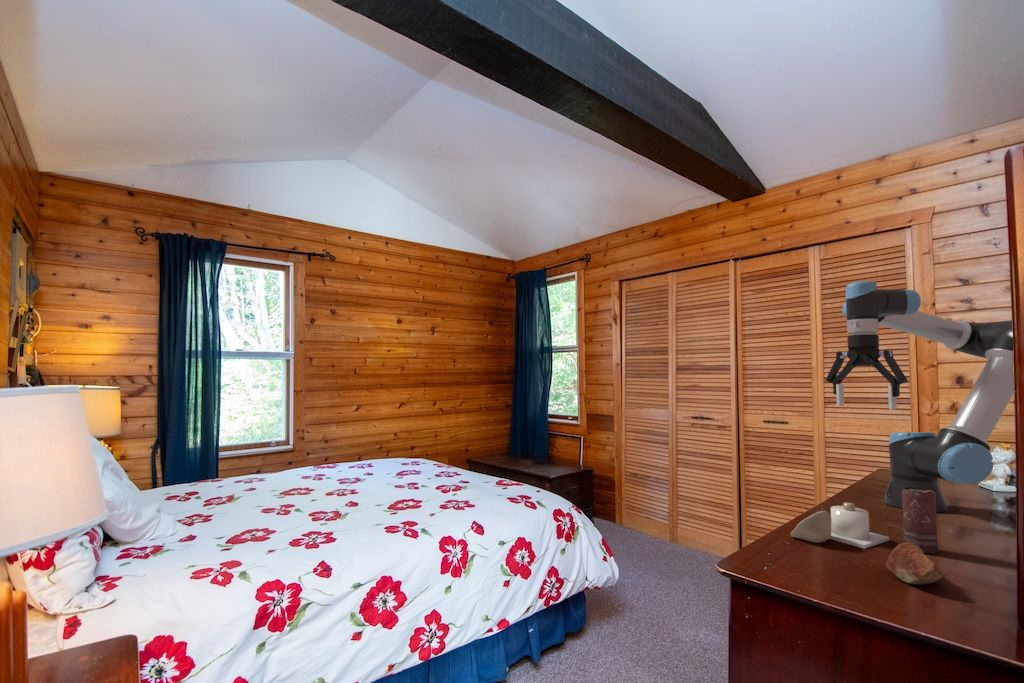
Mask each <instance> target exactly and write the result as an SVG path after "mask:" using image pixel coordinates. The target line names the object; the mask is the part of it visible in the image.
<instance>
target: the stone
mask: <svg viewBox="0 0 1024 683" xmlns="http://www.w3.org/2000/svg"><path fill="white" fill-rule="evenodd" d="M830 536H831V513H830V512H828V511H827V510H821V511H820V510H819V511H817V512H815V513H814V514H811V515H809V516H808V517H806V518H804V519H802V520H801V521H800V522H798V523H797V525H796V526H795V528H794V529H793V530H792V531H791V532H790V537H791V538H795V539H800V540H803V541H806V542H810V543H814V544H819V543H825V542H826V541H828V540H830V539H829V538H830Z"/></svg>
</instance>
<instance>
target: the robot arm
mask: <svg viewBox="0 0 1024 683" xmlns="http://www.w3.org/2000/svg"><path fill="white" fill-rule="evenodd" d="M845 288H846V289H845V302H844V303H843V305H842V310H841V311H842V314H843V316H844V317H845V318H846V328H847V329H846V330H847V332H846V333H847V335H848V336H847V337H846V338H847V339H846V340H847V348H848V350H847V351H837V352H836V353H835V355H836V356H835V360H834V362H833V364H832V366H831V368H830V370H829V372H828V374H827V377H826V379H825V381H826V382H827V383H831V384H832V386H833V387H832V389H833V395H836V406H837V407H844V406H845V388H844V387H845V386H844V384H843V383H842V382H843V381H844V380H845V379H846V377H848V375H849V374H850V373H851V371H853V370H854V368H856V367H873V368H875V369H876V371H878V372H879V374H880V375H882V377H883V378H885V379H886V380H887V382H888V383H889V384H890V385H887V392H888V393H887V397H888V410H890V409H891V410H895V409H897V407H898V406H897V398H899V397H900V396H901V395H900V394H901V393H900V392H901V391H900V385H902V384H907V383H908V381H909V380H908V379H907V377H906V375H905V374H904V372H903V371H902V369H901V367H900V366H899V365H898V363H897V361H896V360H895V357H894V353H893V350H892V349H884V350H882V351H881V350H880V339H879V338H880V336H879V335H878V333H879V326H882V327H886V328H890V329H893V330H896V331H899V332H903V333H906V334H908V335H909V334H910V335H914V336H916V337H921V338H923V339H926V340H930V341H933V342H937V343H940V344H943V345H944V346H945V347H946V348H947V349H950V350H953V351H957V352H960V353H963V354H966V355H970V356H974V357H979V358H983V359H987V361H986V363H985V365H984V367H983V368H982V370H981V372H980V373H979V375H978V378H977V379H976V381H975V382H974V384H973V386H972V388H971V390H970V391H969V392H968V394H967V396H966V397H965V399H964V401H963V403H962V404H961V407H960V408H959V410H958V411H957V414H956V415H955V417H954V418H953V420H952V422H951V423H950V425H949V426H944V427H940V429H939V431H938V433H937V434H936V433H935V432H932V431H931V432H927V431H926V432H921V431H920V432H918V431H915V432H913V431H912V432H908V431H906V432H902V431H901V432H899V431H898V432H892V433H891V434H890V435H889V440H888V442H889V443H888V448H889V467H890V469H889V470H890V480H889V482H888V485H887V489H886V491H885V494H884V502H885V504H887V505H890V506H892V507H896V508H899V509H903V506H902V491H903V489H904V488H907V487H911V488H921V489H927V490H932V491H934V492H935V495H936V513H942V512H943V513H944V512H946V511H948V508H947V507H948V505H947V501H946V498H945V496H944V494H943V492H942V489H941V486H940V484H939V479H940V480H944V481H947V482H950V483H954V484H961V485H962V484H963V485H973V484H979V483H981V482H983V481H984V480H986V479H987V478H988V477H989V476H990V475H991V473H992V471H993V469H994V462H993V460H994V458H993V455H992V453H991V452H990V451H991V449H992V446H991V445H990V443H989V441H988V440H989V438H990V437H991V435H992V433H993V431H994V429H995V427H997V424H998V422H999V420H1000V419H1001V417H1002V415H1003V414H1004V412H1005V410H1006V408H1007V406H1008V405H1009V403H1010V401H1011V400H1012V398H1013V396H1014V395H1015V393H1014V372H1013V330H1012V320H1013V319H1011V320H1000V321H990V322H987V321H986V322H970V321H966V320H963V319H961V320H960V319H959V320H951V319H948V318H943V317H941V316H937V315H933V314H930V313H926V312H923V311H920V310H919V309H920V308H921V296H920V294H919V292H917V291H916V290H912V289H905V288H902V289H901V288H900V289H897V288H895V289H890V288H888V289H880V288H878V286H877V283H876V282H875V281H872V280H863V281H855V282H851V283H848V284H847V285H846V287H845ZM880 357H882V358H883V359H884V360H885V362H886V363H887V365H888V367H889V368H890V370H891V371H892V372H890V371H889V370H888V369H887V367H885V366H884V365H883V363H882V362H881V361H880V360H879V358H880ZM846 358H848V359H849V360H848V362H846V364H845V366H844V367H843V368H842V366H843V364H844V362H845V359H846ZM841 368H842V370H841ZM840 370H841V371H840Z"/></svg>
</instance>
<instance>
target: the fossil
mask: <svg viewBox="0 0 1024 683" xmlns="http://www.w3.org/2000/svg"><path fill="white" fill-rule="evenodd" d="M885 566H886V569H888V570H890V572H891V574H893V575H895V577H896V578H898V579H899V580H901V581H902V582H904V583H907V584H911V585H930V584H933V583H935V582H937V581H939V580H941V579H942V578H943V574H942V573H941V572H940V571H939V569H938V566H937V565H936V564H935V563H934V562H933V561H932V560H931V559H930V558H929V557H928V556H927V554H924V552H923V551H922V550H921V548H920V547H919V546H918V545H917V544H915V543H908V542H906V543H904V542H900V543H898V544H897V545H896V546H895V547H894V548H893V549H892V551H891V552H890V554H889V555H888V558H887V560H886V564H885Z"/></svg>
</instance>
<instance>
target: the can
mask: <svg viewBox="0 0 1024 683" xmlns="http://www.w3.org/2000/svg"><path fill="white" fill-rule="evenodd" d="M902 506H903V508H902V521H903V522H902V524H903V525H902V526H903V527H902V528H903V543H906V542H908V543H915V544H917V545H918V546H919V547H920V548H921V550H922V551H923V552H924V554H925V555H934V554H936V553H937V552H938V551H939V548H938V545H939V544H938V528H937V526H938V523H937V512H936V495H935V492H934V491H932V490H927V489H921V488H911V487H907V488H904V489H903V491H902Z"/></svg>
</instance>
